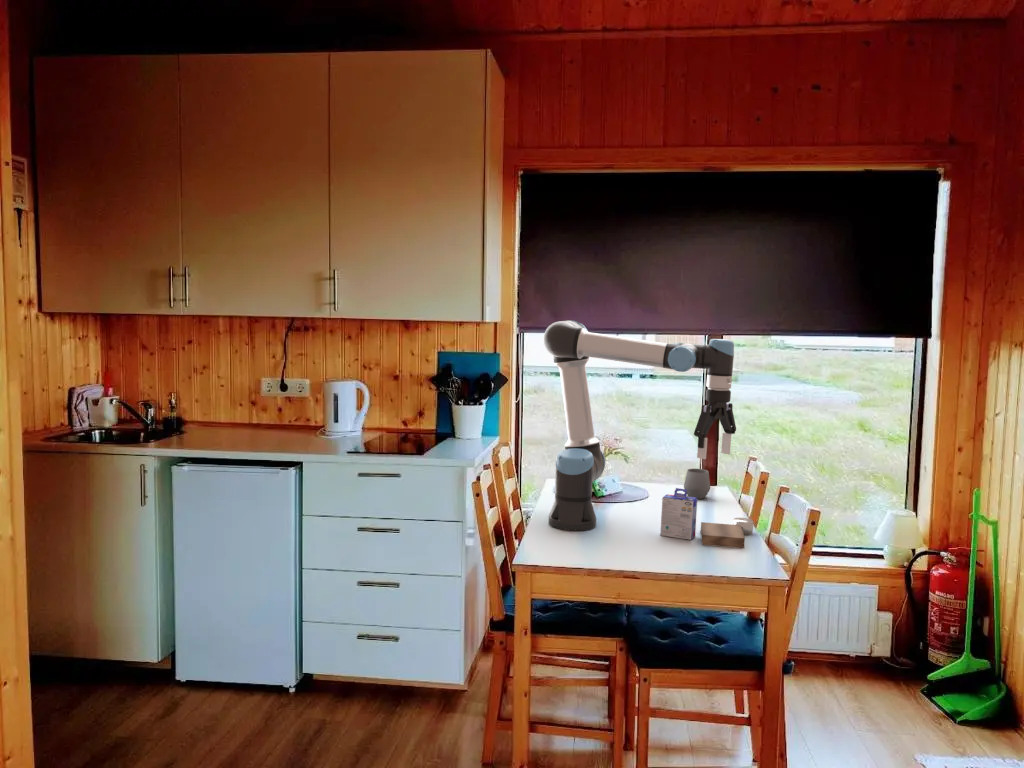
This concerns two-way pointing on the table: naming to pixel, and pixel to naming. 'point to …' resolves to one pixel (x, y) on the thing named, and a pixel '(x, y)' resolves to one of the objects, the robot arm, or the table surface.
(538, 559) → the table surface
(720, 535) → the podium
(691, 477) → the cup
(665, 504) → the ink cartridge box
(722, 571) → the table surface
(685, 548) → the table surface
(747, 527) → the silver metal knob
